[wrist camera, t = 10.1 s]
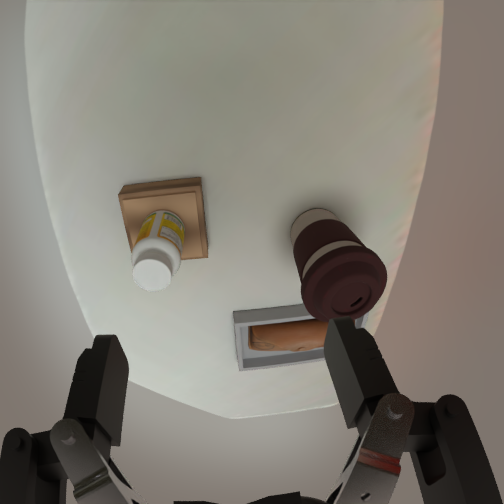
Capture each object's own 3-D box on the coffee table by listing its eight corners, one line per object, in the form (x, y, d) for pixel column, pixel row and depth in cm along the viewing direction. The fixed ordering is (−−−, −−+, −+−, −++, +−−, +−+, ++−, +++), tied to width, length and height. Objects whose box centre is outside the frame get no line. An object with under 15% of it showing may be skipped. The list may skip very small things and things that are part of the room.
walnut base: (123, 185, 39) (117, 196, 36) (200, 177, 39) (199, 187, 36) (138, 251, 44) (133, 266, 41) (208, 245, 45) (208, 259, 42)
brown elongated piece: (247, 352, 56) (252, 365, 50) (246, 314, 56) (250, 323, 49) (342, 342, 58) (357, 353, 52) (343, 306, 58) (358, 313, 51)
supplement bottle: (183, 208, 38) (176, 252, 30) (186, 246, 41) (181, 296, 33) (139, 209, 37) (121, 254, 29) (144, 248, 40) (131, 297, 32)
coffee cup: (275, 207, 43) (302, 275, 30) (345, 192, 43) (397, 251, 30) (285, 266, 48) (310, 341, 36) (348, 251, 48) (389, 319, 36)
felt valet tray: (233, 311, 52) (234, 323, 50) (364, 296, 54) (370, 306, 52) (237, 359, 59) (239, 371, 57) (352, 343, 61) (356, 354, 58)
